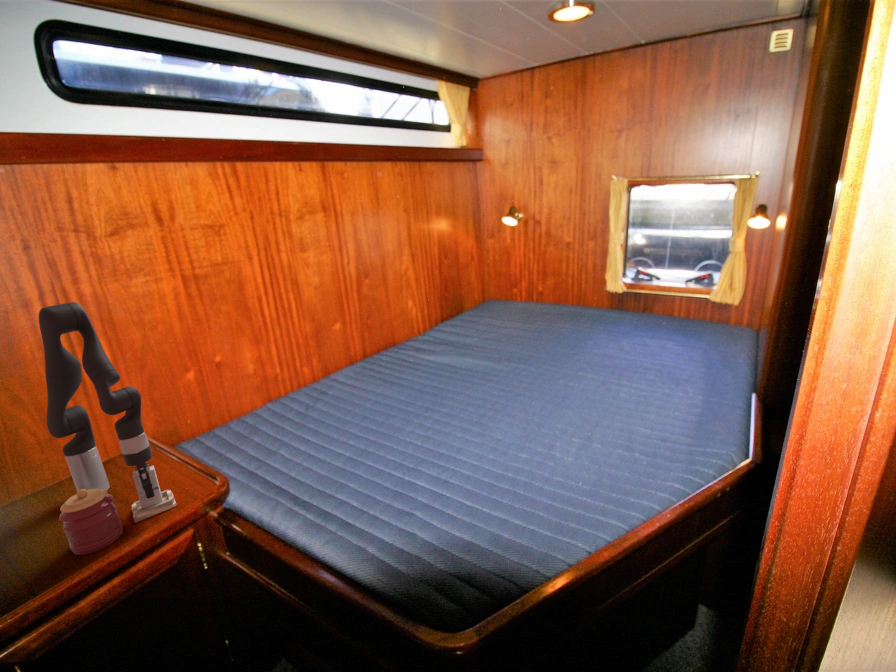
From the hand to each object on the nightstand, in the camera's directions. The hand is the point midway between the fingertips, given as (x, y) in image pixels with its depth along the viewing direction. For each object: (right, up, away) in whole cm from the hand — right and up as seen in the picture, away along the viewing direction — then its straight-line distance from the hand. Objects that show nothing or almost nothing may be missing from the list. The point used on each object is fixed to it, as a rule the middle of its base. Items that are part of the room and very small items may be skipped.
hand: (150, 493), depth 152 cm
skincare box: (0, -3, +1) cm, 4 cm away
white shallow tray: (+1, -5, +1) cm, 5 cm away
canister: (-7, -10, -13) cm, 18 cm away
